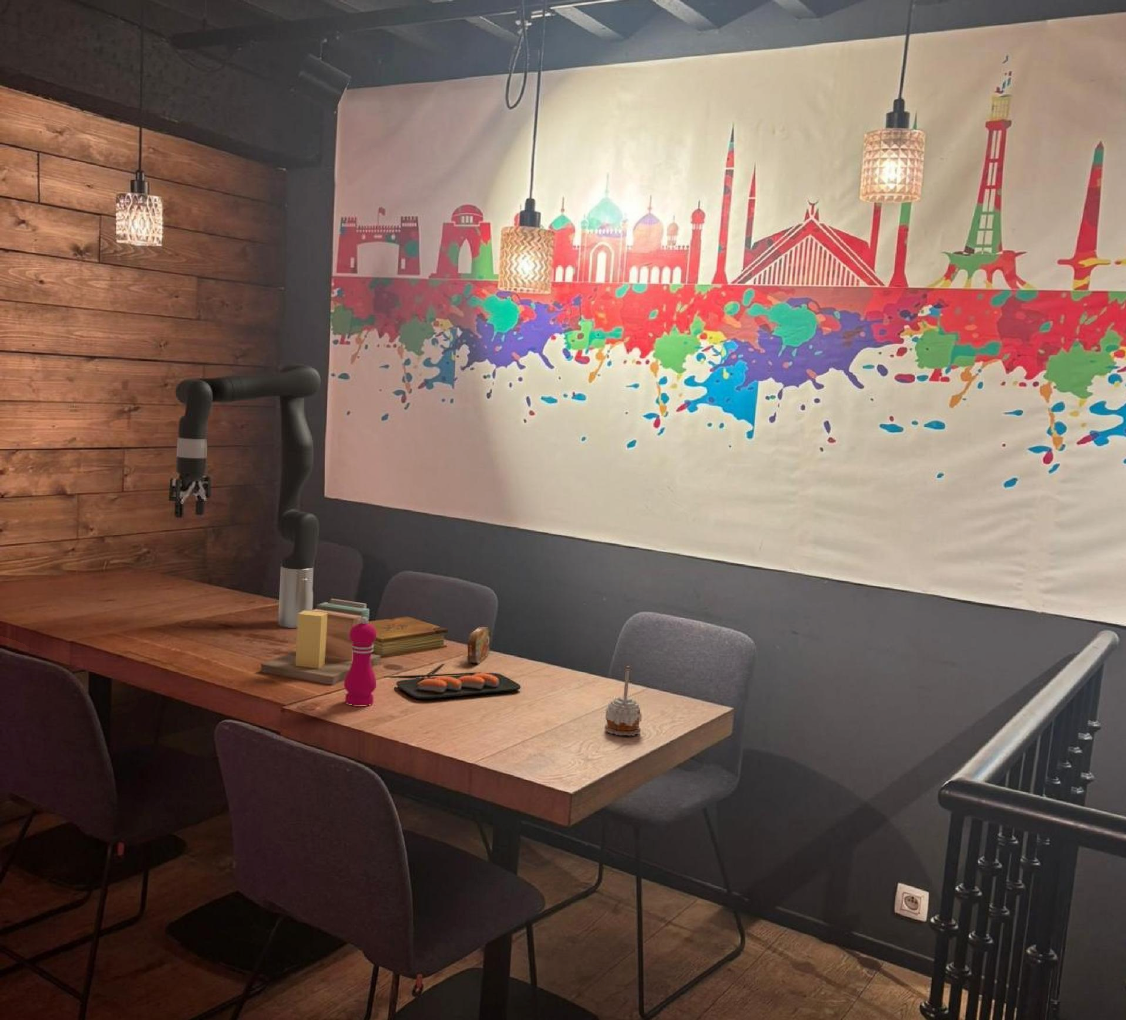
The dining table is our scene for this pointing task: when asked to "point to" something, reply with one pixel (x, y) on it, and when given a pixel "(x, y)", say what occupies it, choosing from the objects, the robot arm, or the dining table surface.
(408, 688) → the sushi plate
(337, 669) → the blocks on base plate
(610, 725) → the caramel apple
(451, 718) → the dining table surface
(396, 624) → the diary
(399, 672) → the dining table surface
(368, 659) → the pepper mill
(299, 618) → the tall mustard yellow pillar
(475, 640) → the tin
